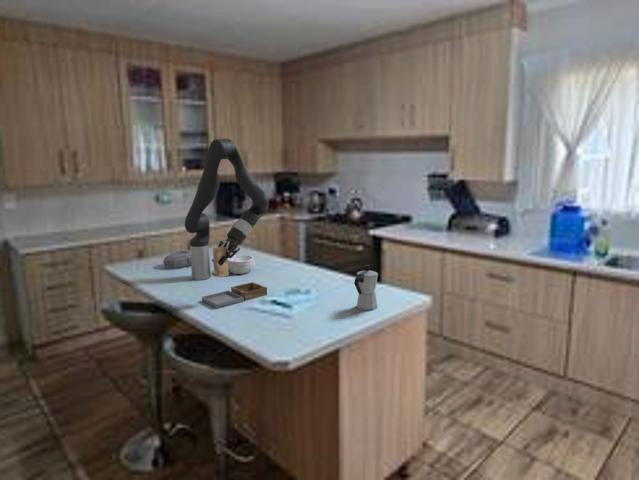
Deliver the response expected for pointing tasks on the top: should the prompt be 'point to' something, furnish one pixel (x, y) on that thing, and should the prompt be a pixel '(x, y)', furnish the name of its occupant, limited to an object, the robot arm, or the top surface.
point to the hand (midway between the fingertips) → (216, 263)
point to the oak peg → (217, 255)
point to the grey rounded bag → (178, 260)
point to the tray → (222, 299)
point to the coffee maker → (366, 289)
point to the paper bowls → (241, 264)
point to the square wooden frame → (256, 290)
